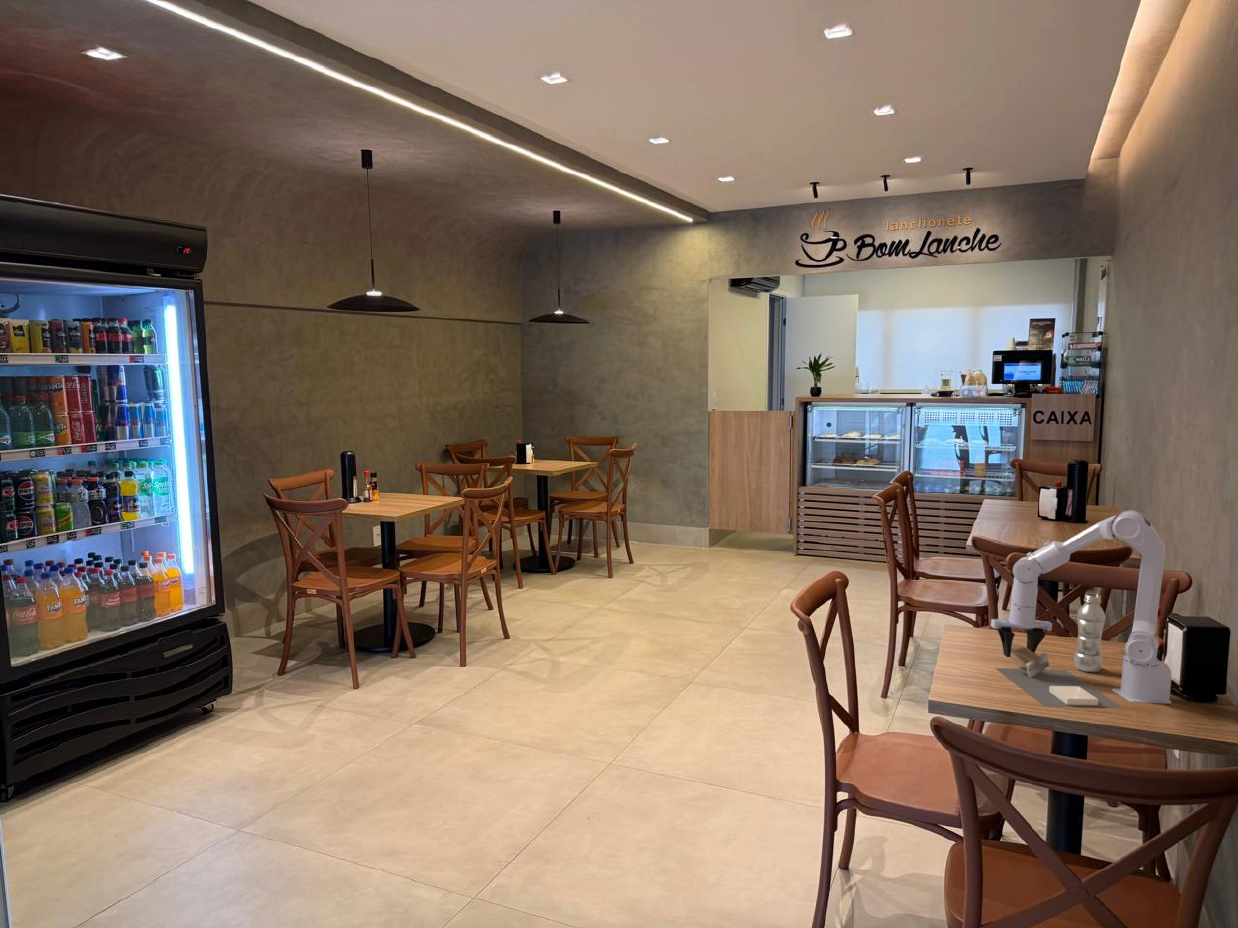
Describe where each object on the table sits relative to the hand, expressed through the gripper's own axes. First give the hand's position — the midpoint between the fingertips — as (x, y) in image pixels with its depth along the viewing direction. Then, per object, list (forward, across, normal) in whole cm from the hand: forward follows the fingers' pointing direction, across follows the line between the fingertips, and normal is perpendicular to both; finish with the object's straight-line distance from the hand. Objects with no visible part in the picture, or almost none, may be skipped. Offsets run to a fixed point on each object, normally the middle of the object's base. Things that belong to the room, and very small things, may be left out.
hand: (1018, 656), depth 211 cm
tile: (+3, -4, +14) cm, 15 cm away
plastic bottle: (+4, -19, -2) cm, 20 cm away
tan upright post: (+2, -2, 0) cm, 3 cm away
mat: (+4, -4, +10) cm, 12 cm away
